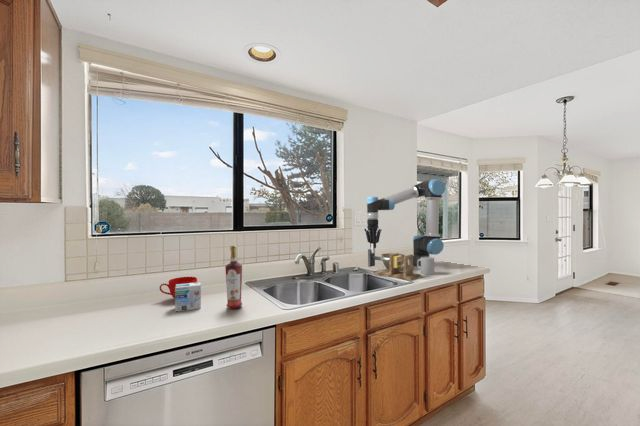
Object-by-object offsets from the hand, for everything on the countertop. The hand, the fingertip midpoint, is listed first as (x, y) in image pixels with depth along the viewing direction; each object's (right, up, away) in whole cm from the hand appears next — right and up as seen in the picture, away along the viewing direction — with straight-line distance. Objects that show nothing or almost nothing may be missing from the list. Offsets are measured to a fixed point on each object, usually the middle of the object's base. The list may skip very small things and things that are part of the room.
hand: (373, 252), depth 208 cm
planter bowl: (+16, -13, +8) cm, 22 cm away
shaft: (+8, -9, -7) cm, 14 cm away
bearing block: (+13, -13, -12) cm, 23 cm away
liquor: (-76, -15, -73) cm, 106 cm away
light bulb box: (-97, -16, -72) cm, 122 cm away
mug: (+34, -13, -7) cm, 37 cm away
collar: (+14, -8, -13) cm, 20 cm away
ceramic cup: (-107, -16, -60) cm, 123 cm away
